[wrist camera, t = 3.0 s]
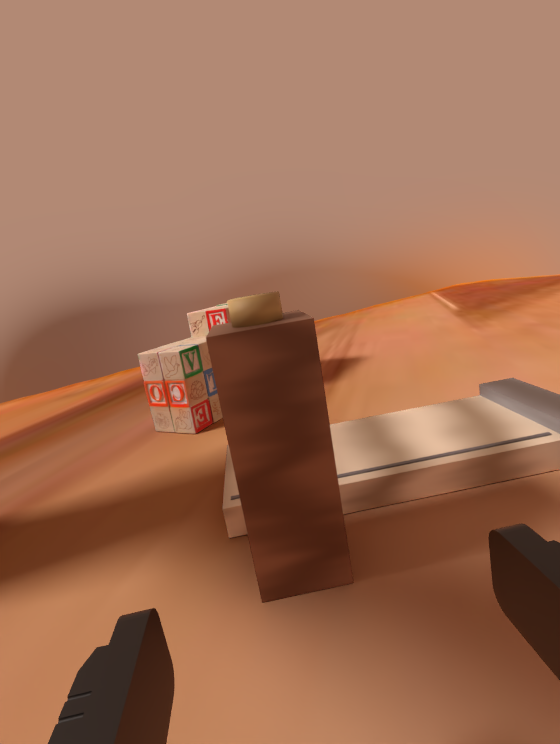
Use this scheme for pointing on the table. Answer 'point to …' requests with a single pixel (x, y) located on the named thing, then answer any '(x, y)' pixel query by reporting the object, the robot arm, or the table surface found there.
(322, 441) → the brown pillar with knob
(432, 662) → the table surface
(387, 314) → the table surface
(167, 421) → the stack of blocks
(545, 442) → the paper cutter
